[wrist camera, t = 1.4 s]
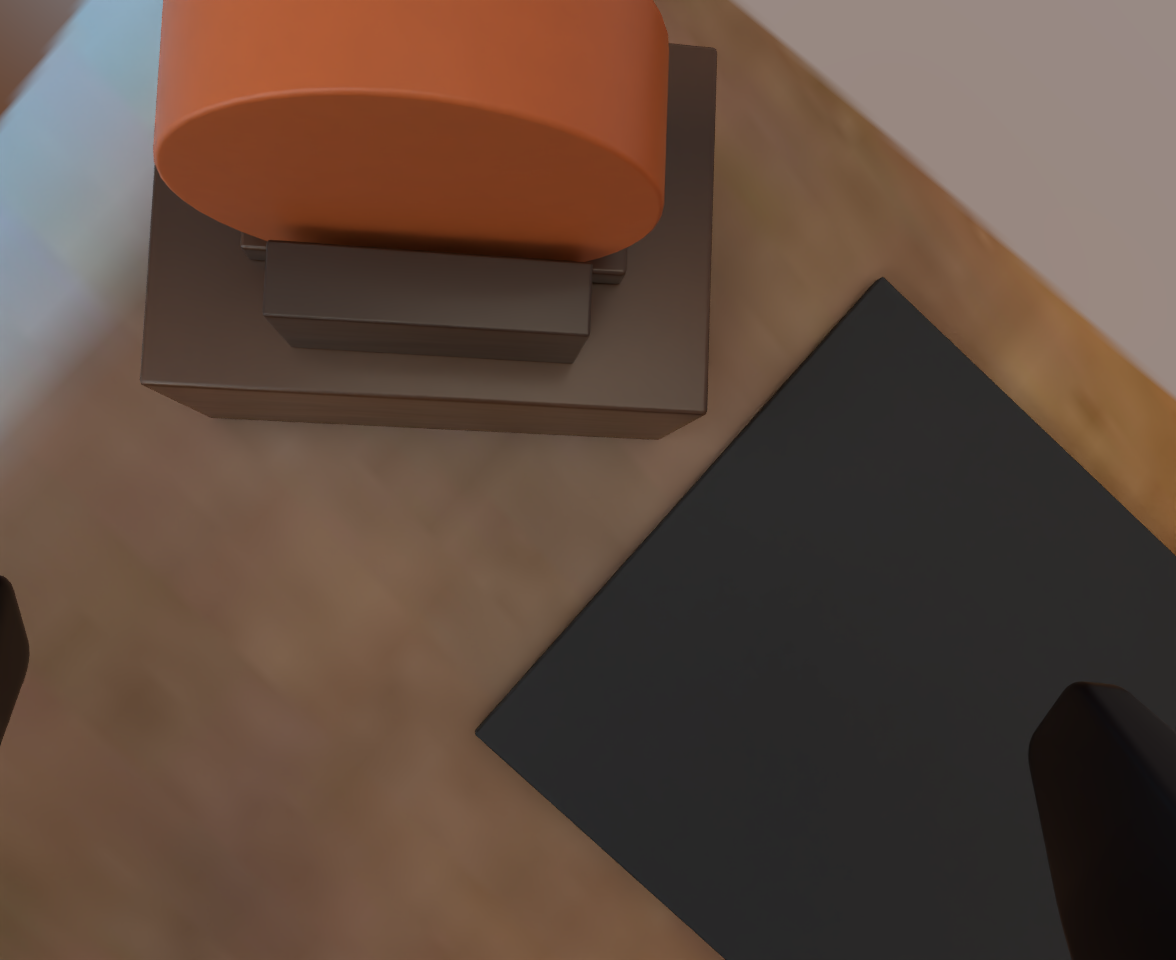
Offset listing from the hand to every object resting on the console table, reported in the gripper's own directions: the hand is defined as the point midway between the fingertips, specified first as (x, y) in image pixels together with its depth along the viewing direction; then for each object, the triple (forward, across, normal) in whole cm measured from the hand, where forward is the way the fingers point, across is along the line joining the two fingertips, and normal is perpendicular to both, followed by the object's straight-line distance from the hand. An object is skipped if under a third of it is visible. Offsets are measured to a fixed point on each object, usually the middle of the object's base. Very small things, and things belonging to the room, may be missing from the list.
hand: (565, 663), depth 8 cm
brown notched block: (+15, +2, +4) cm, 15 cm away
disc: (+11, +2, +1) cm, 12 cm away
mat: (+8, -12, +12) cm, 18 cm away
